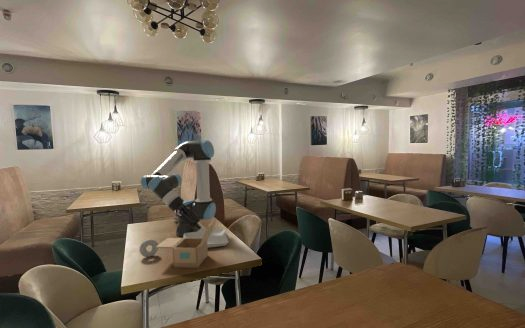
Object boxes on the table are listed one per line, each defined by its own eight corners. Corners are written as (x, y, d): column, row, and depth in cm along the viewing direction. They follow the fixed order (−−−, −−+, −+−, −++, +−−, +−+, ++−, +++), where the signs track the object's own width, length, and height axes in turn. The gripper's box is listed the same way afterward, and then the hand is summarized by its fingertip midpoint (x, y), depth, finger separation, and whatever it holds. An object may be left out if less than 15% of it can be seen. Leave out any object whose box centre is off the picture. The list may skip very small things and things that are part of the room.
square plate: (184, 238, 181) (183, 232, 180) (224, 233, 187) (224, 228, 187) (181, 253, 154) (181, 246, 154) (229, 247, 160) (229, 241, 160)
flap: (215, 218, 146) (216, 219, 146) (206, 238, 147) (208, 238, 147) (208, 225, 133) (209, 226, 133) (198, 247, 134) (200, 247, 134)
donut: (140, 260, 146) (139, 242, 145) (139, 258, 149) (138, 240, 148) (159, 255, 151) (158, 238, 151) (158, 253, 154) (157, 236, 153)
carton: (169, 255, 151) (168, 237, 151) (207, 255, 149) (206, 237, 148) (155, 267, 136) (153, 248, 135) (197, 268, 133) (196, 248, 132)
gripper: (174, 203, 147) (204, 233, 146) (162, 208, 134) (196, 242, 133) (183, 193, 146) (214, 224, 145) (172, 198, 133) (206, 231, 132)
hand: (205, 232), depth 139 cm, fingers closed
